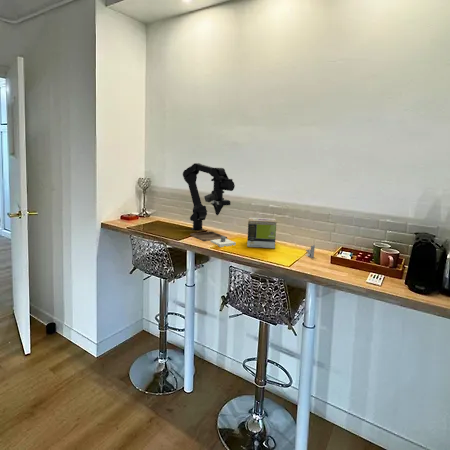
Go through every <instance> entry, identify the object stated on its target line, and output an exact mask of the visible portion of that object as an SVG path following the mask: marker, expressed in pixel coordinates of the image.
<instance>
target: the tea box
mask: <svg viewBox="0 0 450 450" xmlns="http://www.w3.org/2000/svg"><path fill="white" fill-rule="evenodd" d="M247 222H248V224H247V240H246V241H247V243H246V244H247V245H246V246H247V247H249V248H266V249H275V248H276V238H277V237H276V235H277V220H276V218H269V217H268V218H265V217H248V220H247Z"/></svg>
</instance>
